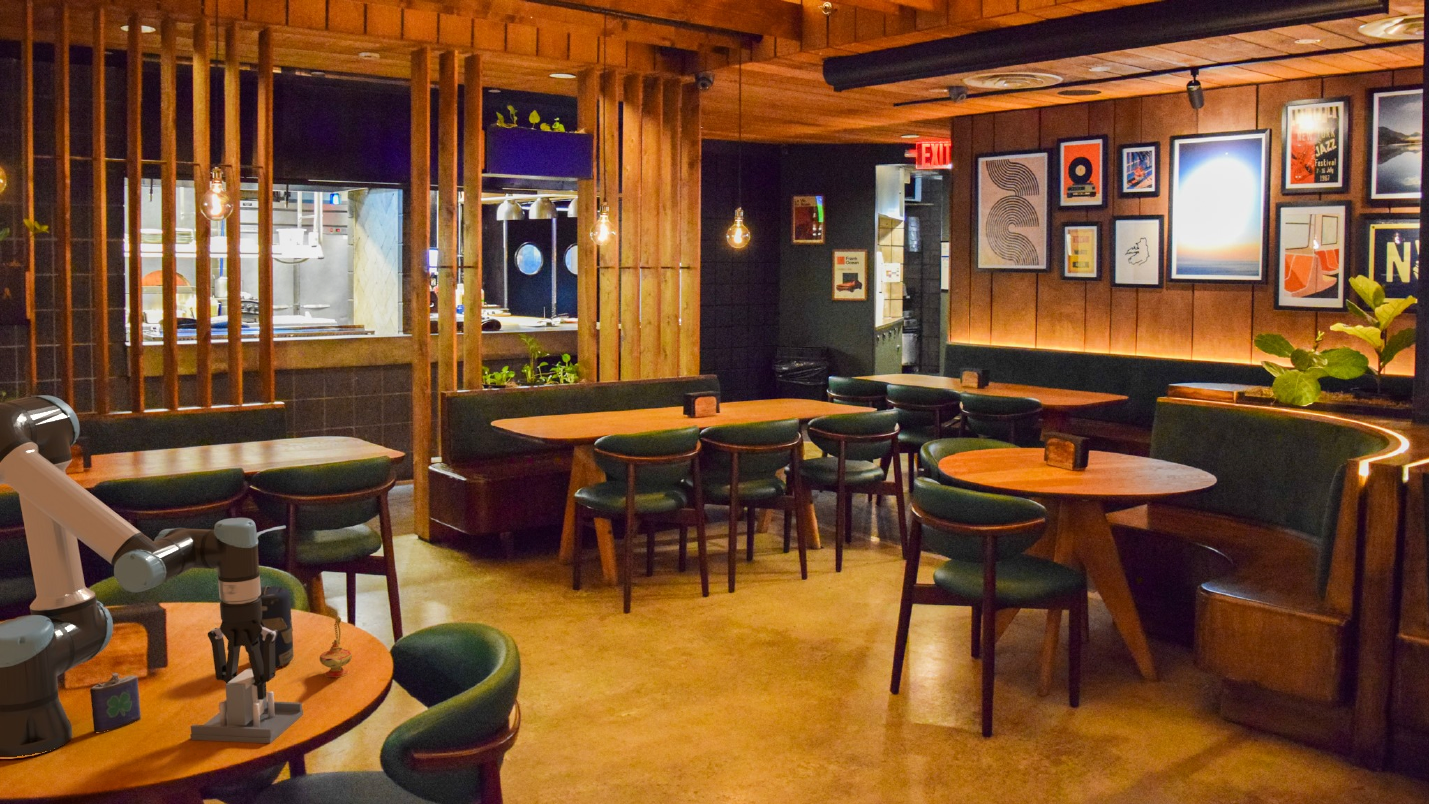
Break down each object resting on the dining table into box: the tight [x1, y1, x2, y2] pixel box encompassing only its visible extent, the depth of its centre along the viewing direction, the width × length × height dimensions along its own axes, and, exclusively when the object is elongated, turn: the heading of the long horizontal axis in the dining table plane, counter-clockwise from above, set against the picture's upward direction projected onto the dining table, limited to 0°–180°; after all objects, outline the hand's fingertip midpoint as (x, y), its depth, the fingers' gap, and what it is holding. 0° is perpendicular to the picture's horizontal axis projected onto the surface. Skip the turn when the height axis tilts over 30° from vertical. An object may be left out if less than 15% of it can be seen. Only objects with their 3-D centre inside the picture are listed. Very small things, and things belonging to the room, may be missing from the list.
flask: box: [89, 672, 142, 733], centre depth 240 cm, size 9×3×11 cm, turn 144°
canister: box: [248, 585, 294, 668], centre depth 274 cm, size 10×10×18 cm
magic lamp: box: [319, 616, 353, 678], centre depth 266 cm, size 7×18×11 cm, turn 9°
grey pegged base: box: [190, 690, 304, 744], centre depth 240 cm, size 16×14×6 cm
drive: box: [225, 668, 268, 725], centre depth 239 cm, size 4×9×8 cm, turn 174°
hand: (248, 713), depth 240 cm, fingers closed on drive, 4 cm apart
